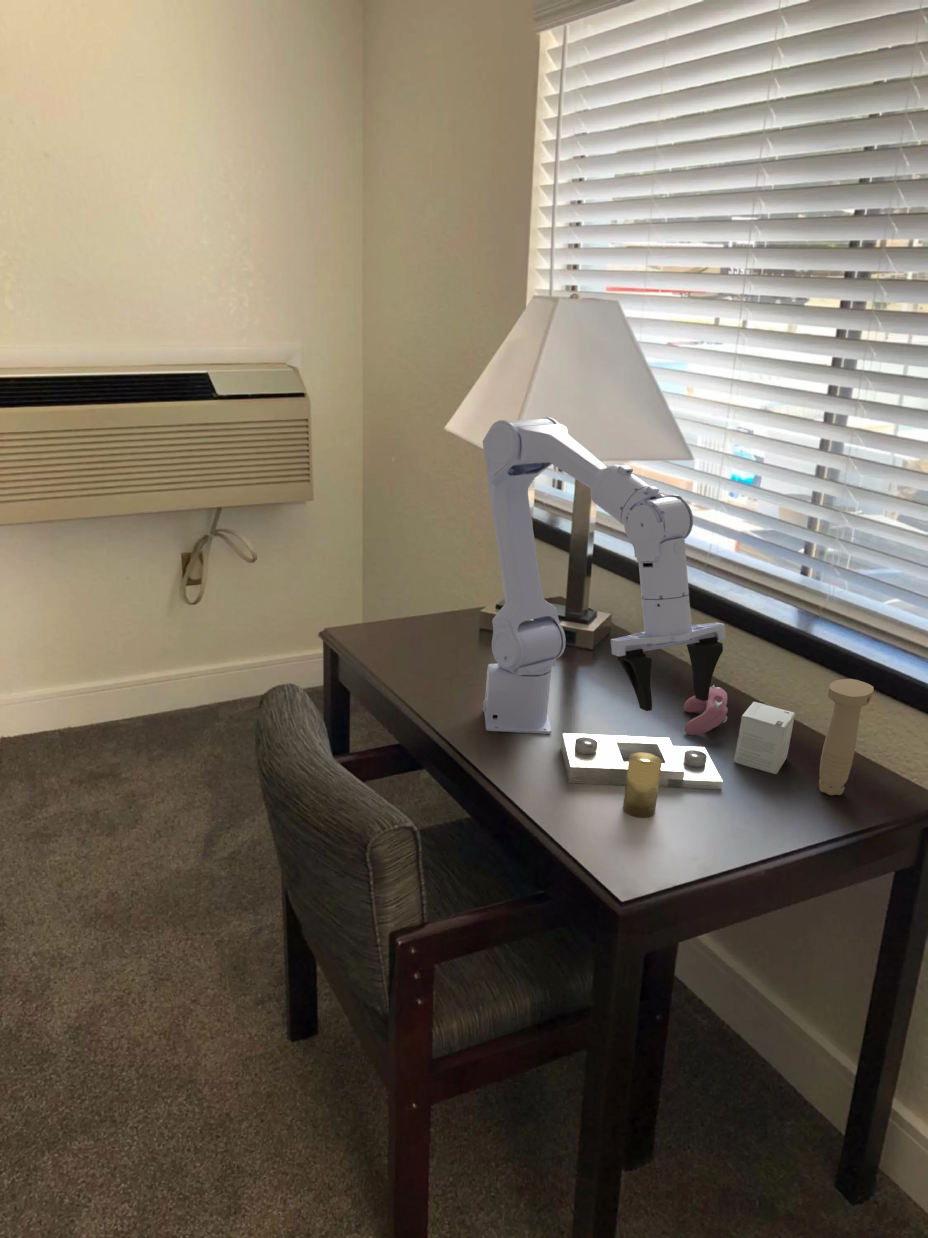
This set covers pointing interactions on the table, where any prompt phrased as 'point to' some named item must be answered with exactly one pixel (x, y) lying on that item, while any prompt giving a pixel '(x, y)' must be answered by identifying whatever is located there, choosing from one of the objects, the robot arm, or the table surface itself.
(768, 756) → the skincare box
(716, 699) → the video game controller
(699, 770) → the right chain end
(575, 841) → the table surface
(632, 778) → the brass pin
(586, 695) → the table surface
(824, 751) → the handle
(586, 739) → the plate
